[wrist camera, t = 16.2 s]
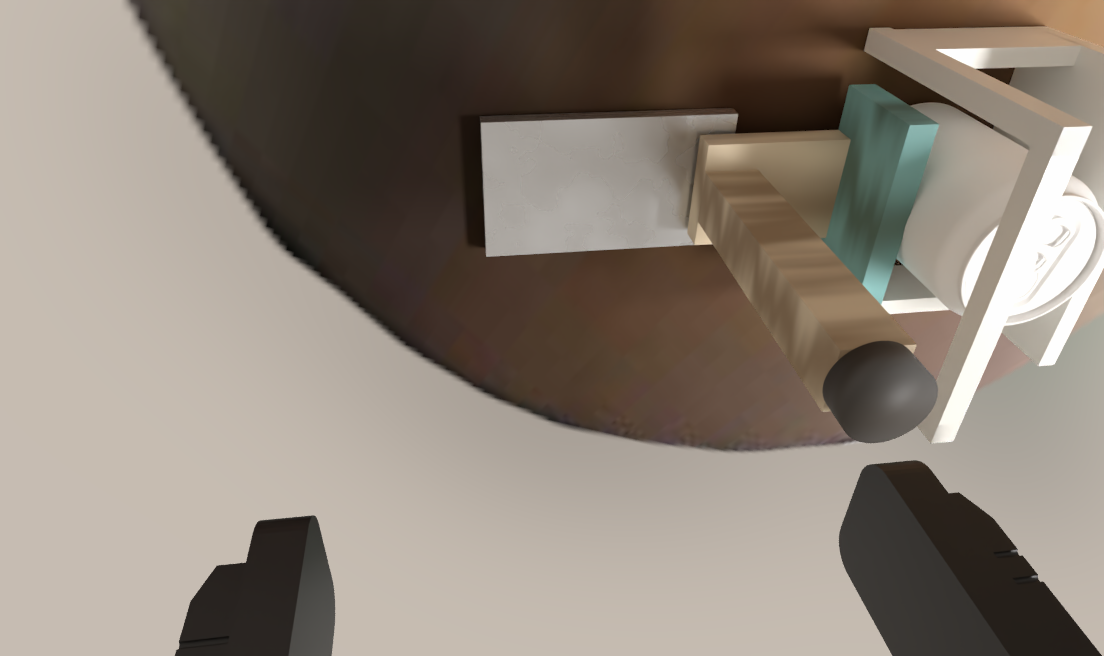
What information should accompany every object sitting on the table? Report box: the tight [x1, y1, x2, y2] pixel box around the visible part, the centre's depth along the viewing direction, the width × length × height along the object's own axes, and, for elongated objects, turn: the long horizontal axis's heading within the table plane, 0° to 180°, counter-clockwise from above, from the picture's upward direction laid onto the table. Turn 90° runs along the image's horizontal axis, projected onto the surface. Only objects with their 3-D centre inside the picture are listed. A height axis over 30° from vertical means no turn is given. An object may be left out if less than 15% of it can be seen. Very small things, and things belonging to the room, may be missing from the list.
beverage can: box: [896, 102, 1104, 326], centre depth 40 cm, size 8×8×12 cm
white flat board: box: [480, 108, 738, 257], centre depth 43 cm, size 8×14×1 cm, turn 89°
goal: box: [864, 26, 1104, 443], centre depth 39 cm, size 16×10×15 cm, turn 179°
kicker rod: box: [687, 84, 939, 443], centre depth 35 cm, size 11×10×19 cm
